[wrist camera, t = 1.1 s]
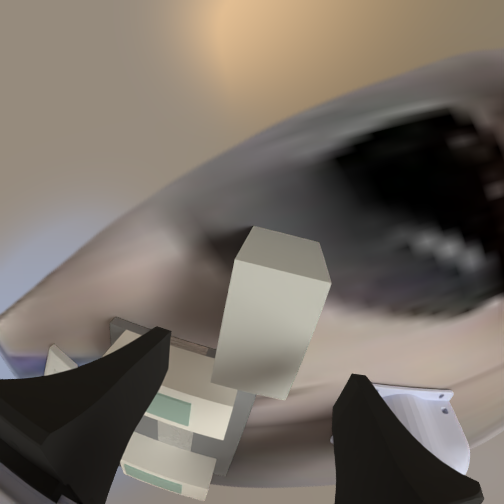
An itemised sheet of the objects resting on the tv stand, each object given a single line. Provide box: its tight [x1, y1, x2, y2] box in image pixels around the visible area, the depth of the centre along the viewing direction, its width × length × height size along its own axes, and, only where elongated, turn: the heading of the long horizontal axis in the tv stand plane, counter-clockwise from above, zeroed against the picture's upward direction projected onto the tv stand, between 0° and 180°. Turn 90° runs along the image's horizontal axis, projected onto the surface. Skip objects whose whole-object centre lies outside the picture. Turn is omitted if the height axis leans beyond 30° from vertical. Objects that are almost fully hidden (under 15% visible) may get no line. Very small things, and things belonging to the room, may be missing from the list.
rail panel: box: [102, 317, 256, 501], centre depth 21 cm, size 12×18×5 cm, turn 168°
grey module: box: [210, 226, 331, 400], centre depth 16 cm, size 4×7×6 cm, turn 168°
